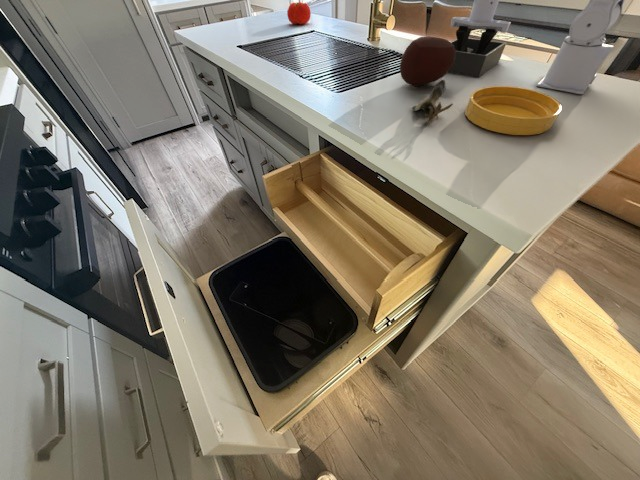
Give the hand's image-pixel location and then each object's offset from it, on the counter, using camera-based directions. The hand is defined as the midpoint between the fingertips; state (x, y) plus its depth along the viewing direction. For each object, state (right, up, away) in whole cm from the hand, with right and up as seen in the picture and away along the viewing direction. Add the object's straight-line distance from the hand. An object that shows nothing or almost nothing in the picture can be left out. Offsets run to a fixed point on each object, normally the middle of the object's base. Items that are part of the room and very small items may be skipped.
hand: (467, 60), depth 77 cm
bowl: (-4, -27, -21) cm, 34 cm away
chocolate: (0, -1, +1) cm, 1 cm away
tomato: (-52, +51, +50) cm, 89 cm away
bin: (0, -1, +1) cm, 1 cm away
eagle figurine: (-20, -26, -20) cm, 38 cm away
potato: (-16, -12, -7) cm, 21 cm away
